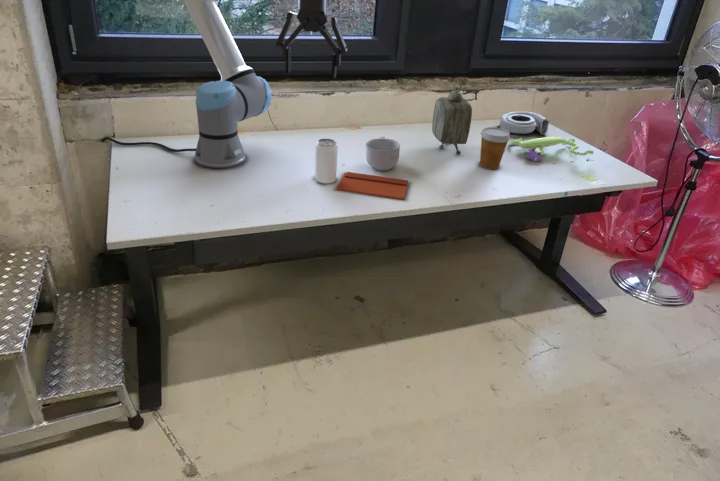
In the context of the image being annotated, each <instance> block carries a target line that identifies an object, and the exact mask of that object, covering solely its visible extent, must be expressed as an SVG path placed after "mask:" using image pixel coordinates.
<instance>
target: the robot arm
mask: <svg viewBox="0 0 720 481" xmlns="http://www.w3.org/2000/svg"><path fill="white" fill-rule="evenodd" d="M177 1H178V2H180V3H183V4H185V6H186V8H187V10H188V12H189V14H190V16H191V18H192V20H193V22H194V24H195V26H196V29H197V30H198V32H199V34H200V36H201V38H202V40H203V42H204V44H205V46H206V48H207V51H208V53H209V54H210V56H211V59H212V61H213V63H214V64H215V66H216V67H215V68H216V69H217V71H218V73H219V75H220V80H215V81H213V80H211V81H208V82H205V83H202V84H201V85H200V86H198V87H197V89H196V91H195V106H196V116H197V124H198V125H197V126H198V135H199V136H198V141H197V143H196V148H181V149H180V148H179V149H177V148H171V147H168V146H166V145H164V144H162V143H159V142H154V141H153V142H152V141H138V142H122V141H119V140H116V139H113V138H112V137H108V136H106V137H103V138H101V140H100V142H102V143H103V142H105V141H110V142H112V143H115V144H117V145H120V146H143V145H151V146H157V147H160V148H162V149H165V150H167V151H170V152H174V153H181V152H183V153H184V152H194V158H195V159H194V160H195V162H196V164H198V165H199V166H202V167H205V168H210V169H227V168H228V169H229V168H234V167H237V166H239V165H241V164H242V163H244V162H245V160H246V154H245V153H246V152H245V150H244V147H243V144H242V142H241V140H240V137H239V131H238V127H239V126H238V123H240V122H242V121H245V120H249V119H251V118H253V117H255V118H256V117H258V116H260V115H261V114H263V113H265V112H267V111H268V109H269V108H270V106H271V101H272V100H273V98H272V89H271V86H270V84H269V82H267V80H266V79H265V78H263V77H261V76H257V74H256V72H255V70H254V68H252V67H251V66H248V65H246V62H245V61H244V58H243V56H242V53H241V52H240V50H239V48H238V45H237V44H236V41H235V39H234V38H233V36H232V33H231V31H230V29H229V27H228V25H227V24H226V21H225V19H224V17H223V15H222V13H221V11H220V9H219V6H218V4H217V2H216V0H177ZM296 19H297V21H298V23H299V25H298V26H297V27H296V28H295V30H294V32H292V33H291V35H290V36H289V37H288V38H287V39H286V37H287V35H288V33H289V31H290V28H291V27H292V24H293V22H295V21H296ZM327 22H328V24H329V25H330V26H331V28H332V32H333V34H334V37H335V38H333V36H332V35H331V33H330V32H329V31H328V28H327V27H326V24H327ZM302 31H305V32H313V33H319V34H320V35H322V37H323V39H324V40H325V41H326V42H327V44H328V46H329V47H330V49H331V50H332V51H333V54H332V58H331V79H334V80H335V79H336V78H337V67H340V66H341V56H342V55H343V54H346V53H347V52H348V47H347V44H346V42H345V38H344V37H343V34H342V32H341V31H342V30H341V29H340V26H339V22H338V16H336V15H333V16H327V0H298V12H297V13H295V12H293V11H288V12H287V14H286V20H285V23H284V25H283V26H282V29H281V31H280V33H279V35H278V38H277V40H276V42H275V45H276V47H280V48H281V51H282V61H285V74H290V73H291V72H292V47H290V46H291V44H292V43H293V42H294V41H295V39H297V37H298V36H299V35H300V34H301V33H302ZM285 39H286V40H285ZM334 39H336V41H335V40H334Z"/></svg>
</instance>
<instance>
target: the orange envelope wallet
mask: <svg viewBox="0 0 720 481" xmlns="http://www.w3.org/2000/svg"><path fill="white" fill-rule="evenodd" d="M408 186H409V180H408V179H402V178H395V177H387V176H380V175H373V174H367V173H358V172H351V171H347V172H344V174H343V176H342V177H341V179H340V181H339V183H338V185H337V186H336V191H340V192H346V193H347V192H348V193H355V194H359V195H360V194H361V195H368V196H374V197H375V196H376V197H382V198H388V199H396V200H402V201H404V200H405V197H406V194H407V189H408Z"/></svg>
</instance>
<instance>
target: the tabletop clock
mask: <svg viewBox="0 0 720 481" xmlns="http://www.w3.org/2000/svg"><path fill="white" fill-rule="evenodd" d="M456 82H458V84H459V86H456ZM453 90H454V91H452V92H450V93H449V94H448V96H441V97H439V98H437V99H436V100H435V103H434V109H433V116H432V125H431V131H432V134H433V136H434V137H435V139H436V140H437V141H439V142H440V143H441V144H440V145H439V146H438V149H439V150H441V151H442V150H444V145H453V146H454V147H455V150H456V152H455V153H456V155H457V156H461V154H462V151H461V150H459V147H458V145H466V144H467V142H468V139H469V134H470V130H471V124H472V116H473V107H472V105H471V104H470V102H469V101H468V100H467V99H466V98H465V97H463V94H462V93H461V90H462V81H461V79H460V78H458V77H456V78H455V79H454V80H453Z"/></svg>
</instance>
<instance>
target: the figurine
mask: <svg viewBox="0 0 720 481" xmlns="http://www.w3.org/2000/svg"><path fill="white" fill-rule="evenodd" d="M575 142H576V139H575V138H572V137H571V138H569V139H568V140H566V139H565V138H564V137H558V136H545V137H537V138H533V139H528V140H524V141H523V139H522V137H519V138H517V139H515V140H511V141H509V145H510V146H512V145H515V144H516V145H517V144H518V146H519V147H520V148H523V149H525V150H526V151H527V154H526V158H528V159H529V160H531V161H533V162H535V161H537V162H539V161H540V160H541V158H542V155H544V154H545V153H546V151H548V149H547V148H548V147H552V146H556V145H559V144H560V145H563V146H566V145H568V148H570V147H572V148H570V150H569V152H570V154H573V155H575V156H576V155H577V156H583V157H584V156H587V155H588V154H589V155H593V154H594V150H590V149H588V150H587V149H586V150H585V151H584V152H579V151H577V150H578V149H579V145H578V144H577V143H575ZM537 149H539V151H536V150H537ZM545 150H546V151H545Z"/></svg>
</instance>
